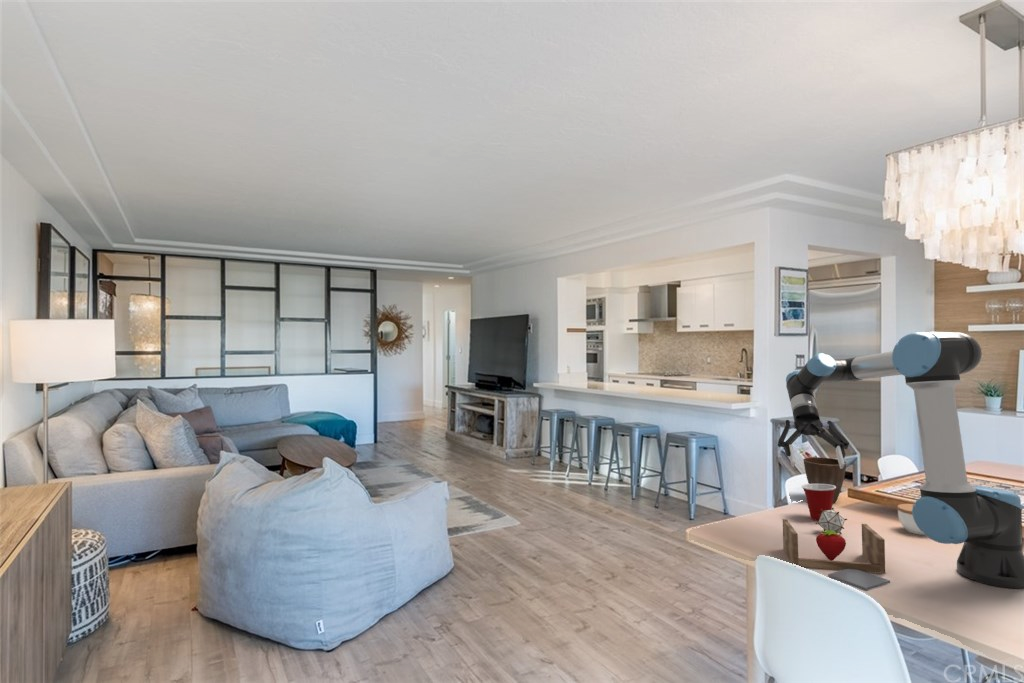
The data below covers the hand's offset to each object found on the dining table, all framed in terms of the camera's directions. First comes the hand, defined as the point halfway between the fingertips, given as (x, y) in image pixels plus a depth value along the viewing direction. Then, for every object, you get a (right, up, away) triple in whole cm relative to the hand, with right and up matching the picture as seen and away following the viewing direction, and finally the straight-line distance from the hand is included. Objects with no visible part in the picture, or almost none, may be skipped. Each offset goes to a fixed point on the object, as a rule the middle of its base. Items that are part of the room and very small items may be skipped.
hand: (817, 465), depth 172 cm
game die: (+10, -25, +10) cm, 29 cm away
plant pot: (+30, -25, +49) cm, 63 cm away
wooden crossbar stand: (-3, -24, -13) cm, 28 cm away
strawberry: (-3, -25, -13) cm, 28 cm away
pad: (-3, -24, -26) cm, 36 cm away
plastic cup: (+15, -25, +26) cm, 39 cm away
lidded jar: (+39, -24, +11) cm, 47 cm away
